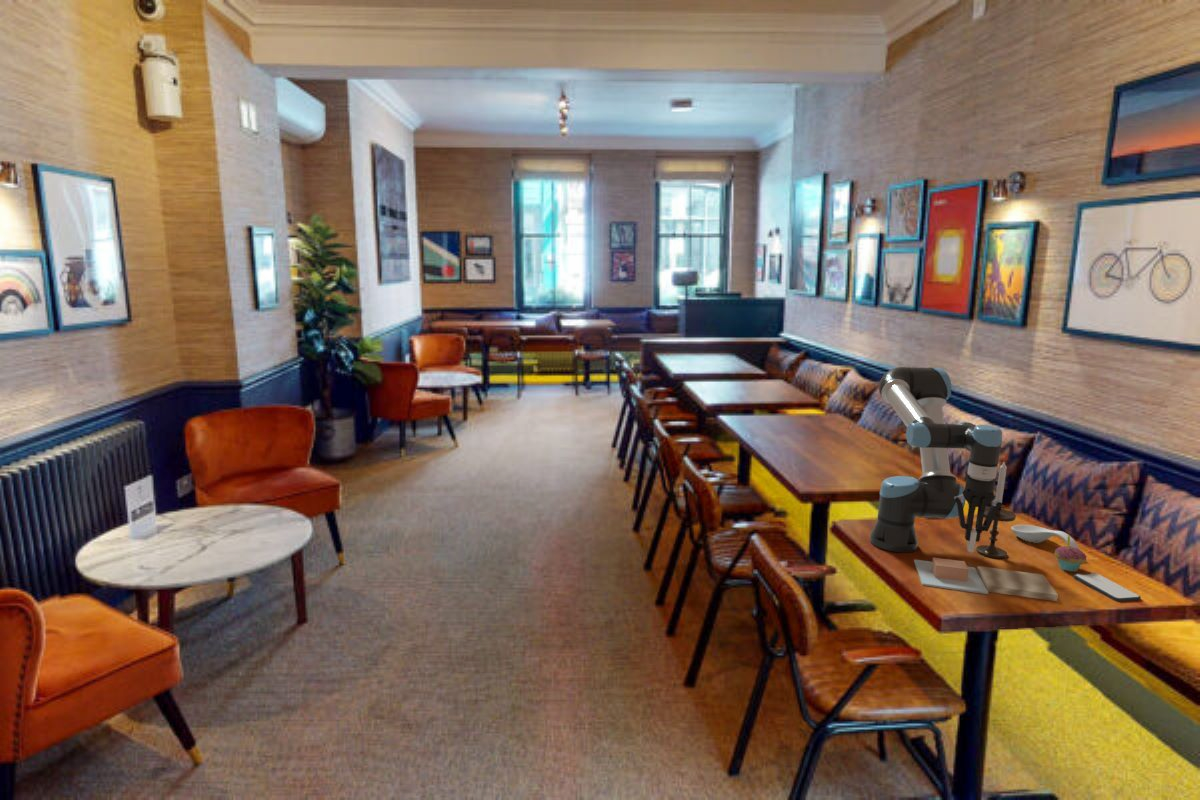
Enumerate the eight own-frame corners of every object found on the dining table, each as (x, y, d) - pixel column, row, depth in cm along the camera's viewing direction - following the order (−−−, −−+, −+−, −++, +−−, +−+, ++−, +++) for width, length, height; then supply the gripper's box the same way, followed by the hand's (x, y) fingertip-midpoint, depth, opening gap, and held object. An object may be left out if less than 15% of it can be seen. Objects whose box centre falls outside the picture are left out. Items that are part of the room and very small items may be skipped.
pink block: (934, 577, 210) (936, 565, 209) (931, 569, 215) (932, 557, 215) (967, 581, 207) (968, 569, 207) (962, 573, 213) (964, 561, 212)
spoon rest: (1002, 534, 247) (1005, 516, 246) (1028, 532, 250) (1031, 513, 249) (1061, 562, 225) (1065, 541, 224) (1089, 558, 228) (1092, 538, 227)
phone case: (1142, 602, 199) (1095, 576, 215) (1143, 597, 199) (1096, 572, 214) (1116, 604, 198) (1070, 578, 213) (1117, 599, 198) (1071, 573, 213)
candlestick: (1000, 547, 235) (1014, 449, 228) (1016, 560, 224) (1031, 458, 218) (967, 545, 236) (980, 447, 229) (981, 558, 225) (995, 456, 219)
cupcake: (1069, 575, 214) (1075, 539, 212) (1045, 564, 222) (1051, 529, 220) (1090, 572, 217) (1096, 537, 214) (1066, 561, 225) (1072, 527, 222)
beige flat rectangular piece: (987, 591, 203) (988, 585, 202) (976, 571, 216) (977, 565, 215) (1056, 601, 197) (1057, 594, 197) (1041, 580, 211) (1042, 574, 210)
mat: (922, 585, 206) (922, 583, 206) (913, 561, 223) (914, 559, 223) (988, 594, 201) (988, 592, 201) (974, 569, 218) (974, 567, 217)
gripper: (959, 478, 202) (949, 552, 207) (1009, 483, 198) (997, 558, 204) (954, 470, 209) (944, 542, 214) (1002, 475, 205) (991, 548, 211)
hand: (970, 550), depth 209 cm, fingers closed
